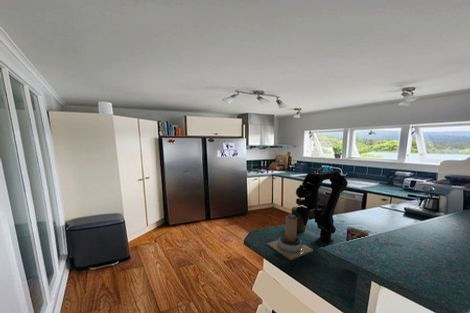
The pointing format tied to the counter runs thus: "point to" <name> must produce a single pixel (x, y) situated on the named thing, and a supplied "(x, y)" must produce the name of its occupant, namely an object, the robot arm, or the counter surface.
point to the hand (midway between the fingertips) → (310, 223)
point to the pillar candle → (298, 220)
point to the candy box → (355, 233)
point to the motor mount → (290, 248)
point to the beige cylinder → (291, 228)
